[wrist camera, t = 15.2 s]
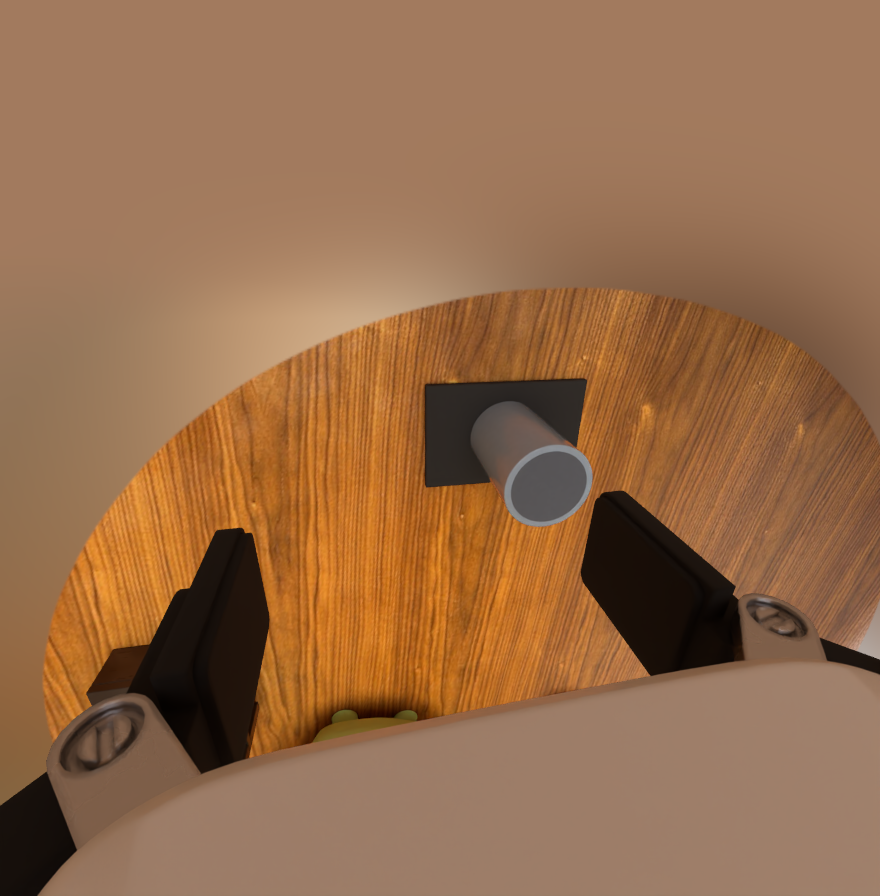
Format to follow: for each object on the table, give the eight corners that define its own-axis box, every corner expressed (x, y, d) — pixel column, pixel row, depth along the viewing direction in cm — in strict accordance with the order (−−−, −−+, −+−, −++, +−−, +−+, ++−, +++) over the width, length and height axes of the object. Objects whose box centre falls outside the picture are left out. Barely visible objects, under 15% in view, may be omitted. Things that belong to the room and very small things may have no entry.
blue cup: (468, 470, 41) (501, 531, 32) (471, 402, 38) (508, 448, 29) (535, 465, 42) (585, 523, 33) (543, 399, 39) (600, 442, 30)
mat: (425, 484, 41) (426, 487, 40) (425, 384, 37) (426, 386, 36) (569, 473, 44) (572, 476, 43) (584, 378, 39) (587, 380, 39)
